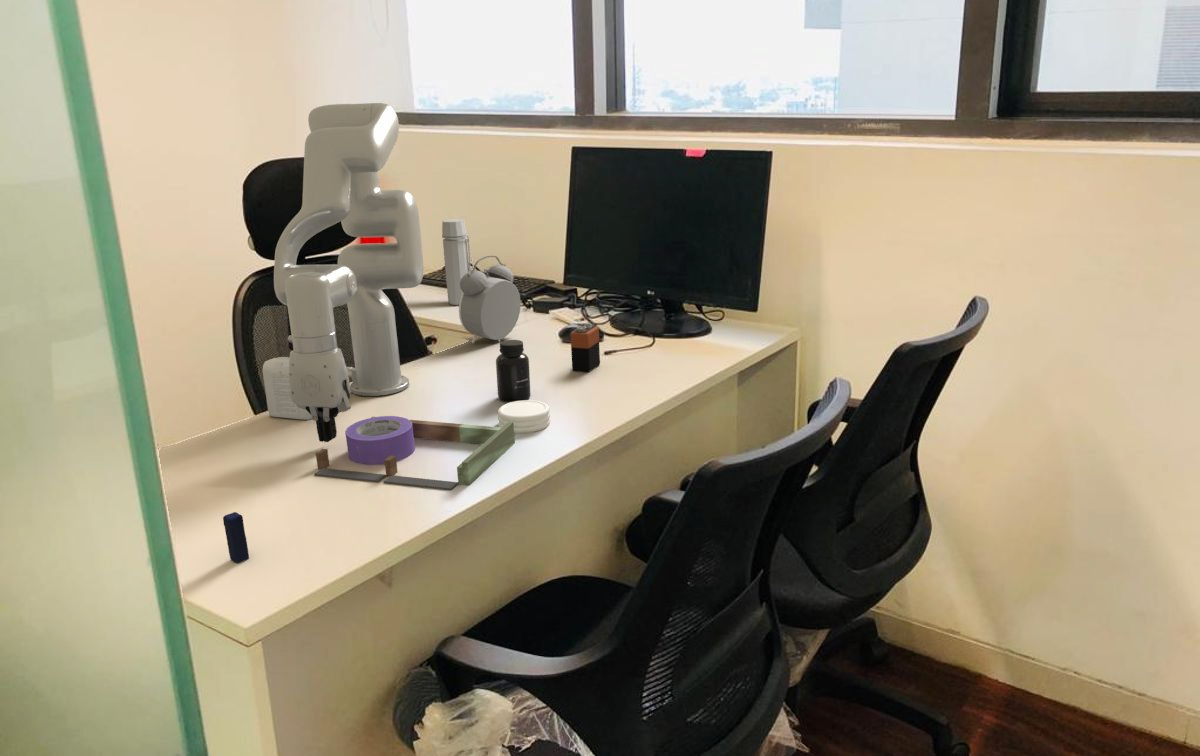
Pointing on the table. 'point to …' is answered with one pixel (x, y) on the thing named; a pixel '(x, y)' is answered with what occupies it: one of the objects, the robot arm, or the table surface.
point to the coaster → (525, 415)
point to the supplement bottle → (512, 372)
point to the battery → (585, 348)
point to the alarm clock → (489, 302)
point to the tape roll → (380, 440)
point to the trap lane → (473, 465)
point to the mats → (392, 479)
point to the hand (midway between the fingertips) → (327, 439)
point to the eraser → (236, 537)
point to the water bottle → (455, 256)
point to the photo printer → (280, 390)
